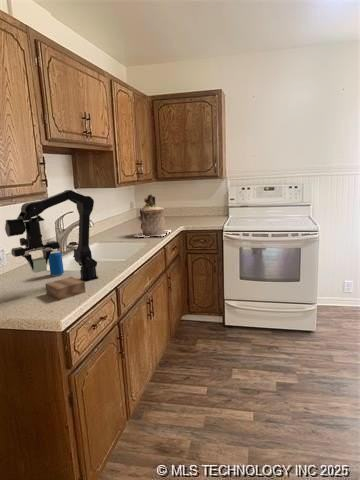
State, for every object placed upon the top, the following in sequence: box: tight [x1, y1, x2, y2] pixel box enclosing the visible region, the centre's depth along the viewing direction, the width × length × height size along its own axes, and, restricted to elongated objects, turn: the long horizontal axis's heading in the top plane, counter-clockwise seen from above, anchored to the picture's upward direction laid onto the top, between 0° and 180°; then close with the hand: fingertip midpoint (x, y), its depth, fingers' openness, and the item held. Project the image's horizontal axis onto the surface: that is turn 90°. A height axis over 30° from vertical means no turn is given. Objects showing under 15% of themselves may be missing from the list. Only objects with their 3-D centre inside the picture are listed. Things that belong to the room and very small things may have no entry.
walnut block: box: [45, 276, 86, 301], centre depth 150 cm, size 12×12×5 cm
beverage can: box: [48, 250, 65, 277], centre depth 178 cm, size 6×6×12 cm
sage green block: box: [30, 256, 48, 274], centre depth 152 cm, size 5×5×5 cm
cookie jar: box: [133, 193, 172, 238], centre depth 272 cm, size 25×25×32 cm
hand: (39, 267), depth 152 cm, fingers closed on sage green block, 5 cm apart
